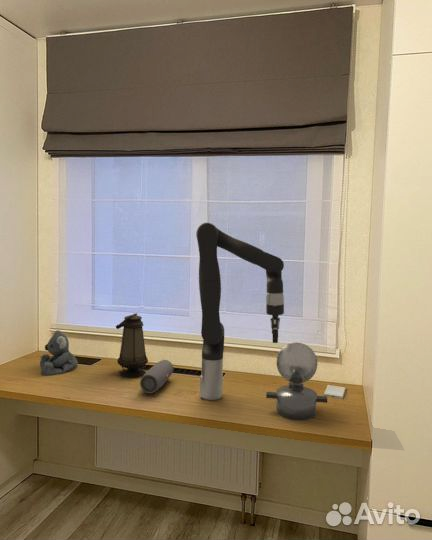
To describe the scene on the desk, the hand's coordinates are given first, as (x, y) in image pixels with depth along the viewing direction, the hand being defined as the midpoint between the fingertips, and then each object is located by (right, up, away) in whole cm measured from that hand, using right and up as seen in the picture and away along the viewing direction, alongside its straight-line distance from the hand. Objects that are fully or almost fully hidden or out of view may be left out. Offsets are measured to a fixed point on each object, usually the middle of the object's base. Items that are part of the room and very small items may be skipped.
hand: (275, 340), depth 191 cm
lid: (+8, -10, -5) cm, 14 cm away
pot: (+7, -27, -12) cm, 30 cm away
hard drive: (+28, -26, +10) cm, 40 cm away
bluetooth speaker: (-52, -24, +12) cm, 59 cm away
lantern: (-67, -22, +29) cm, 76 cm away
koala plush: (-105, -20, +33) cm, 112 cm away
